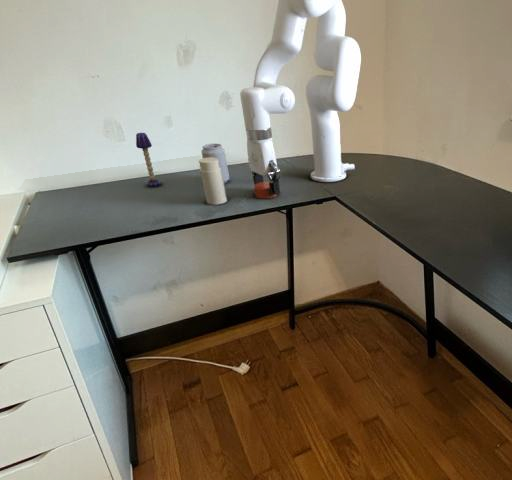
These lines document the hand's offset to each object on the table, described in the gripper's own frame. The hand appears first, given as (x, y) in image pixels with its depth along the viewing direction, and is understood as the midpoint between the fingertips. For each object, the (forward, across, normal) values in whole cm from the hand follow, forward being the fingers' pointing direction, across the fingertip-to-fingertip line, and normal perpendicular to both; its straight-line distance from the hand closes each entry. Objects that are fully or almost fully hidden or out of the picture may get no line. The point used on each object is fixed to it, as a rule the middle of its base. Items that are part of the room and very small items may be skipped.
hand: (267, 190), depth 151 cm
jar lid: (-1, 0, 0) cm, 1 cm away
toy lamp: (+1, -34, -24) cm, 42 cm away
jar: (+1, -6, -15) cm, 16 cm away
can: (+1, -23, -6) cm, 24 cm away
